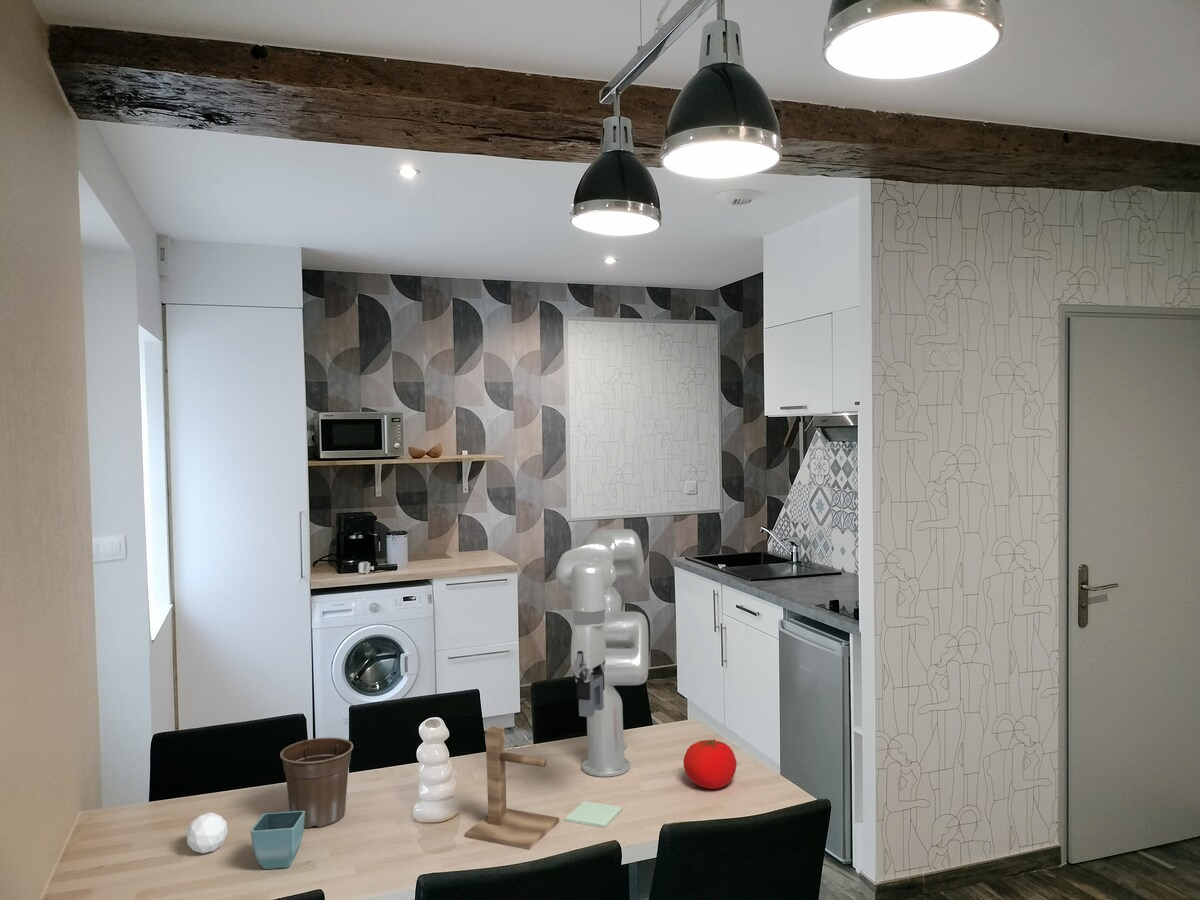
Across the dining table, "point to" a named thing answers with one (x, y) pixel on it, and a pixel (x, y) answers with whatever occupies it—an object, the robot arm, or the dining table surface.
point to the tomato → (710, 763)
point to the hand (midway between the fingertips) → (590, 693)
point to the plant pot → (317, 778)
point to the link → (593, 697)
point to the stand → (500, 820)
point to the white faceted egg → (206, 833)
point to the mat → (594, 814)
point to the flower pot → (277, 838)
